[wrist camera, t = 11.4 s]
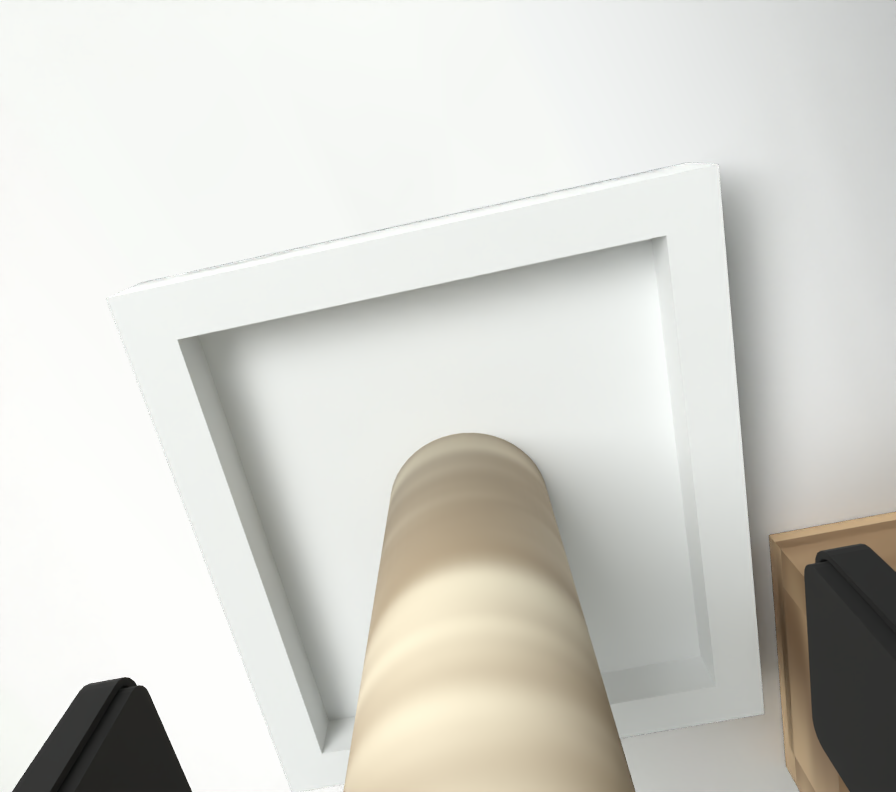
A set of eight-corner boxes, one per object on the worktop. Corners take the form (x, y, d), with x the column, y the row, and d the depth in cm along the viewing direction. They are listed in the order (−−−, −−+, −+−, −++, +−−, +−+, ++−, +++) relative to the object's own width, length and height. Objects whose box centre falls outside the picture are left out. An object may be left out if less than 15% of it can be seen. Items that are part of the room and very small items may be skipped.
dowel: (372, 449, 15) (247, 975, 5) (533, 418, 15) (690, 907, 5) (410, 585, 16) (357, 1218, 7) (559, 558, 16) (729, 1171, 6)
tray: (141, 282, 14) (105, 298, 13) (688, 162, 14) (718, 164, 12) (304, 739, 18) (292, 793, 17) (737, 665, 17) (764, 714, 16)
